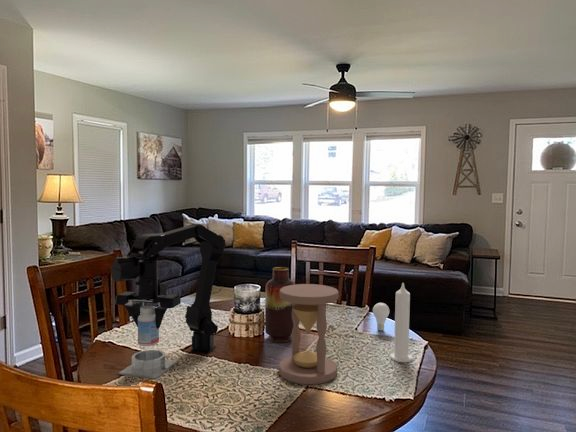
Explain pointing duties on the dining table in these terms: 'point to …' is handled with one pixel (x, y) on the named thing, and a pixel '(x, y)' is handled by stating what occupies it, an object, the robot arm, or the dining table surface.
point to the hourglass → (307, 311)
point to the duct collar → (148, 364)
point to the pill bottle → (147, 326)
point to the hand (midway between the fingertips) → (148, 327)
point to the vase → (278, 308)
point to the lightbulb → (380, 314)
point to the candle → (401, 326)
